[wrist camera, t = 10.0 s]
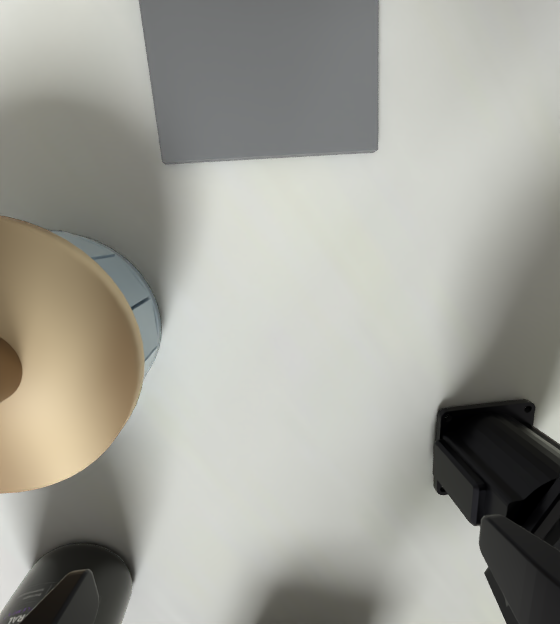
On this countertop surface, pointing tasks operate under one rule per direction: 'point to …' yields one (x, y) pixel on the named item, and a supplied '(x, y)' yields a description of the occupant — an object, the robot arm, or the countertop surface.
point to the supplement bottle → (63, 560)
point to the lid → (60, 358)
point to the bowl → (126, 291)
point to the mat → (262, 77)
